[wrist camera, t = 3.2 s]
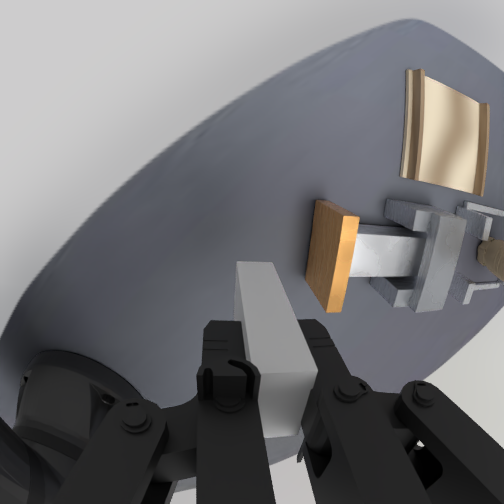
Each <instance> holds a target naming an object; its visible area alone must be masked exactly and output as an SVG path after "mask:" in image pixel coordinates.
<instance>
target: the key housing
mask: <svg viewBox="0 0 504 504" xmlns="http://www.w3.org/2000/svg"><path fill="white" fill-rule="evenodd" d="M384 217H386V218H388V219H390V220H393V221H395V222H397V223H399V224H401V225H403V226H405V227H407V228H409V229H410V230H412V231H422V232H428V235H427V240H426V244H425V248H424V253H423V257H422V261H421V265H420V268H419V272H418V276H387V277H371V281H370V285H371V286H372V287H373V288H374V289H375V290H376V291H377V292H378V293H379V294H380V295H381V296H382V297H383V298H384V299H385V300H386V301H387V302H388V303H389V304H390V305H391V306H392V307H404V306H409V307H410V308H411V309H412V310H413V311H414V312H415V313H417V312H426V311H435V310H442V308H443V305H444V303H445V300H446V297H447V294H448V291H449V288H450V285H451V281H452V278H453V275H454V271H455V268H456V264H457V261H458V257H459V253H460V249H461V245H462V241H463V237H464V232H465V228H466V223H467V220H465V219H463V218H462V217H460V216H457V215H455V214H452V213H450V212H447V211H445V210H442V209H439V208H437V207H434V206H431V205H425V204H419V203H412V202H406V201H399V200H392V199H386V205H385V211H384Z"/></svg>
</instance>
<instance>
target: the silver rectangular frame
mask: <svg viewBox="0 0 504 504" xmlns="http://www.w3.org/2000/svg"><path fill="white" fill-rule="evenodd" d="M470 209H472V210H470ZM473 210H477V211H481V212H486V213H490V214H494V215H499V216H503V217H504V211H502V210H499V209H495V208H491V207H487V206H483V205H479V204H475V203H471V202H467V201H464V206H463V207H460V206H457V209H456V214H455V215H457V216H460V217H462V218H463V219H465V220H467V223H466V228H465V232H466V233H468V234H470V235H472V236H474V237H476V238H478V239H481V240H485V241H488V238H489V233H490V229H491V224H492V219H493V218H491V217H488V216H486V215H483V214H480V213H478V212H475V211H473ZM500 284H502V285H503V286H504V282H503V281H502V280H501V279H499V278H498V281H497V282H486V283H474V282H472V281H471V280H469V279H468V278H466V277H465V276H463V275H462V274H460V273H459V272H457V271H456V270H455V271H454V275H453V278H452V281H451V285H450V288H449V291H448V294H450V295H451V296H452V297H454V298H455V299H456V300H457V301H459V302H460V303H461V304H469V301H470V299H471V296H472V293H473V290H481V289H491V288H499V285H500Z"/></svg>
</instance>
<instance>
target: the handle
mask: <svg viewBox="0 0 504 504" xmlns="http://www.w3.org/2000/svg"><path fill="white" fill-rule="evenodd" d="M477 259H478V262H479V263H480V264H482V265H483V266H484V265H485V266H487V268H488V270H490V271H491V272H492V273H493V274H494V275H495V276H497V277H498V278H499V279H501V280H502V281H503V282H504V241H502V240H495V239H494V238H492V237H489V238H488V241H485V240H483V242H482V243H481V244H480V246H478V257H477Z"/></svg>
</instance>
